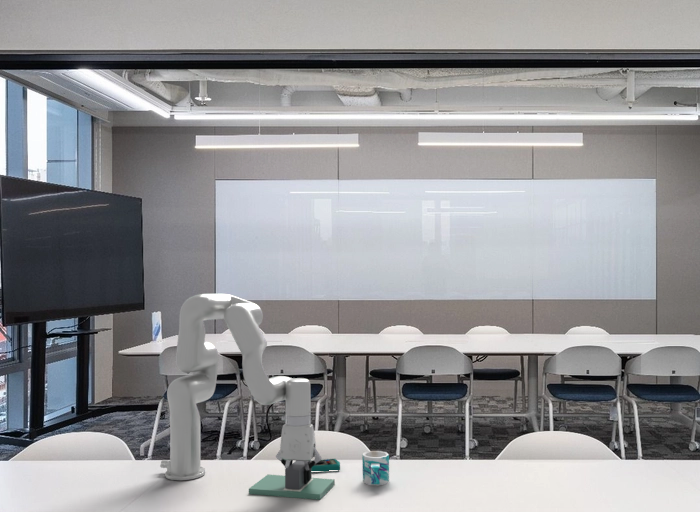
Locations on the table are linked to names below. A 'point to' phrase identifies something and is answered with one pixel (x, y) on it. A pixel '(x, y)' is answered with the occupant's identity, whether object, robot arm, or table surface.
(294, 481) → the block
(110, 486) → the table surface
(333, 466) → the digital multimeter
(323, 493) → the header board
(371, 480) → the mug
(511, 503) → the table surface
